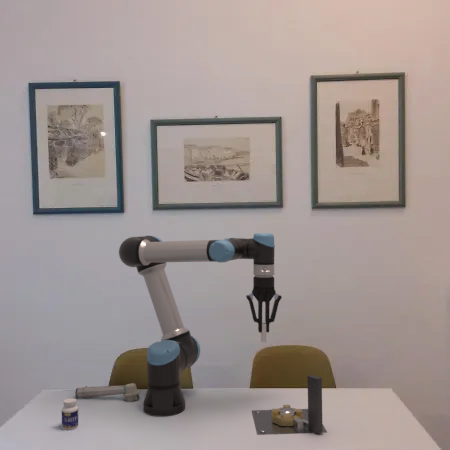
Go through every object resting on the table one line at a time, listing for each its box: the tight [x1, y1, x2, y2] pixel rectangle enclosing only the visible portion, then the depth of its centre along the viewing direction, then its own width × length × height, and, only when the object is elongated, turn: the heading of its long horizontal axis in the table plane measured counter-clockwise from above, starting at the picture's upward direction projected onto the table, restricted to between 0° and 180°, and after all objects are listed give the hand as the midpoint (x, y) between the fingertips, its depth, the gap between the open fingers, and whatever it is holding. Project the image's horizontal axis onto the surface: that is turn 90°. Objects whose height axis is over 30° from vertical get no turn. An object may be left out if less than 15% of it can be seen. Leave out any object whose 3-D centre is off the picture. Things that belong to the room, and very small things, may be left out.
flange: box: [251, 407, 328, 436], centre depth 165 cm, size 22×22×4 cm
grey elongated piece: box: [74, 382, 141, 402], centre depth 193 cm, size 5×7×25 cm
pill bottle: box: [61, 397, 79, 431], centre depth 166 cm, size 5×5×9 cm
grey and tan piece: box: [271, 374, 323, 435], centre depth 162 cm, size 19×10×17 cm, turn 40°
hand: (263, 341), depth 180 cm, fingers closed
